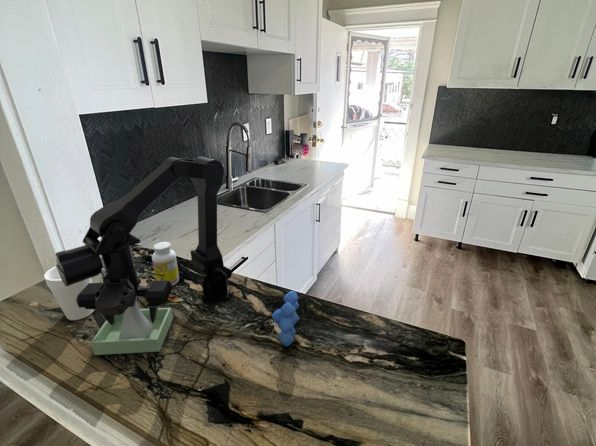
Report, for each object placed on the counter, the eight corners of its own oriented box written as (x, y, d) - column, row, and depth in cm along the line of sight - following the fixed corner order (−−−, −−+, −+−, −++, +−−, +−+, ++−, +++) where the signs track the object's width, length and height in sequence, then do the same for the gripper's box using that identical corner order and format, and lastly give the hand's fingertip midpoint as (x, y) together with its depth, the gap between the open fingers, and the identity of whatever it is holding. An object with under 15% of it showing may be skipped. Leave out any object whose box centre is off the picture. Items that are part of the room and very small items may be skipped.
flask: (140, 346, 72) (131, 311, 68) (112, 341, 73) (103, 307, 69) (159, 325, 79) (152, 292, 75) (133, 321, 80) (125, 288, 76)
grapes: (277, 319, 82) (276, 280, 78) (302, 322, 81) (303, 283, 77) (265, 352, 72) (264, 310, 67) (294, 356, 71) (295, 313, 66)
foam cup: (50, 318, 81) (35, 275, 76) (84, 298, 89) (72, 258, 84) (75, 328, 78) (61, 284, 73) (108, 306, 86) (97, 265, 81)
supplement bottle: (151, 283, 96) (144, 246, 91) (170, 274, 101) (164, 238, 96) (166, 290, 93) (159, 252, 88) (184, 280, 98) (178, 243, 93)
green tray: (173, 318, 82) (171, 307, 80) (159, 351, 72) (157, 339, 70) (116, 321, 81) (113, 310, 79) (94, 355, 70) (90, 342, 69)
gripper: (50, 289, 60) (72, 351, 66) (151, 285, 62) (163, 345, 68) (82, 260, 70) (98, 316, 76) (168, 257, 72) (177, 312, 78)
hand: (133, 322), depth 75 cm, fingers open, 9 cm apart
